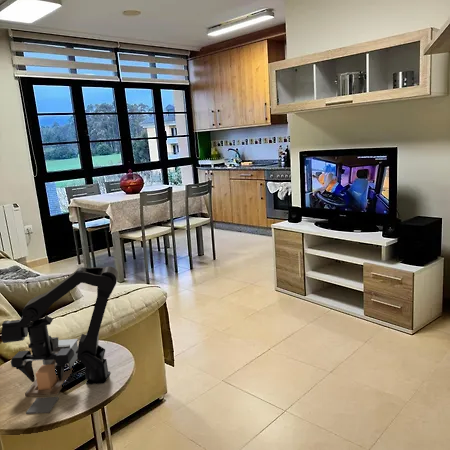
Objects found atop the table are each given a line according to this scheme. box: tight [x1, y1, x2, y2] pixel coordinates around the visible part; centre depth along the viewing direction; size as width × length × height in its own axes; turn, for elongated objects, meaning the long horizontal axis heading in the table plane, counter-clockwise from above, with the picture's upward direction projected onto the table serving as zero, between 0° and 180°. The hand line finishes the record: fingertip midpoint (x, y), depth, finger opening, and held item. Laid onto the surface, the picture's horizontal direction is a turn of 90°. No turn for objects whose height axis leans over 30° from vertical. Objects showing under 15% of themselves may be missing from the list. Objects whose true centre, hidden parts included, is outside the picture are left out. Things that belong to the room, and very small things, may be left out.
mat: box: [25, 396, 59, 415], centre depth 130 cm, size 7×7×1 cm
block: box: [34, 364, 58, 390], centre depth 139 cm, size 4×5×6 cm
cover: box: [42, 338, 79, 369], centre depth 151 cm, size 10×8×8 cm
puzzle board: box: [24, 359, 78, 397], centre depth 146 cm, size 10×22×1 cm, turn 179°
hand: (47, 380), depth 140 cm, fingers open, 9 cm apart
